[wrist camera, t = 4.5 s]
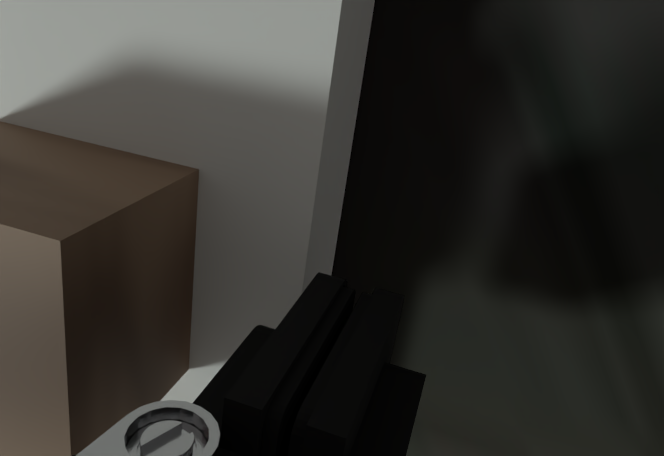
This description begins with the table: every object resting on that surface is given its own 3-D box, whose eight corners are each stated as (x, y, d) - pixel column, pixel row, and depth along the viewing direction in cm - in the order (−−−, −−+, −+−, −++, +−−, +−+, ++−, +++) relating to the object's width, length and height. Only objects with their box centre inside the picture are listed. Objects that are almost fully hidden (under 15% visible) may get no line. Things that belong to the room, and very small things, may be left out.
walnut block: (189, 369, 14) (72, 496, 10) (13, 312, 15) (-147, 409, 11) (199, 169, 12) (60, 240, 8) (-5, 120, 13) (-205, 164, 9)
